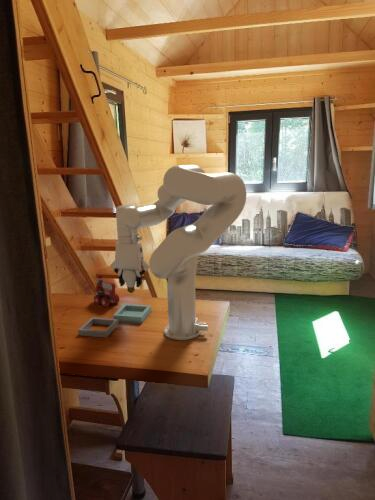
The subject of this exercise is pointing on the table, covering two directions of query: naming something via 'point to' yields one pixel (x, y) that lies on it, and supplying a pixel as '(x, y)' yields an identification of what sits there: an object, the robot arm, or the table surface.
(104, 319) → the holder
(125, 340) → the table surface
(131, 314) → the tray
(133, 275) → the light bulb
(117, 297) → the toy fire truck
